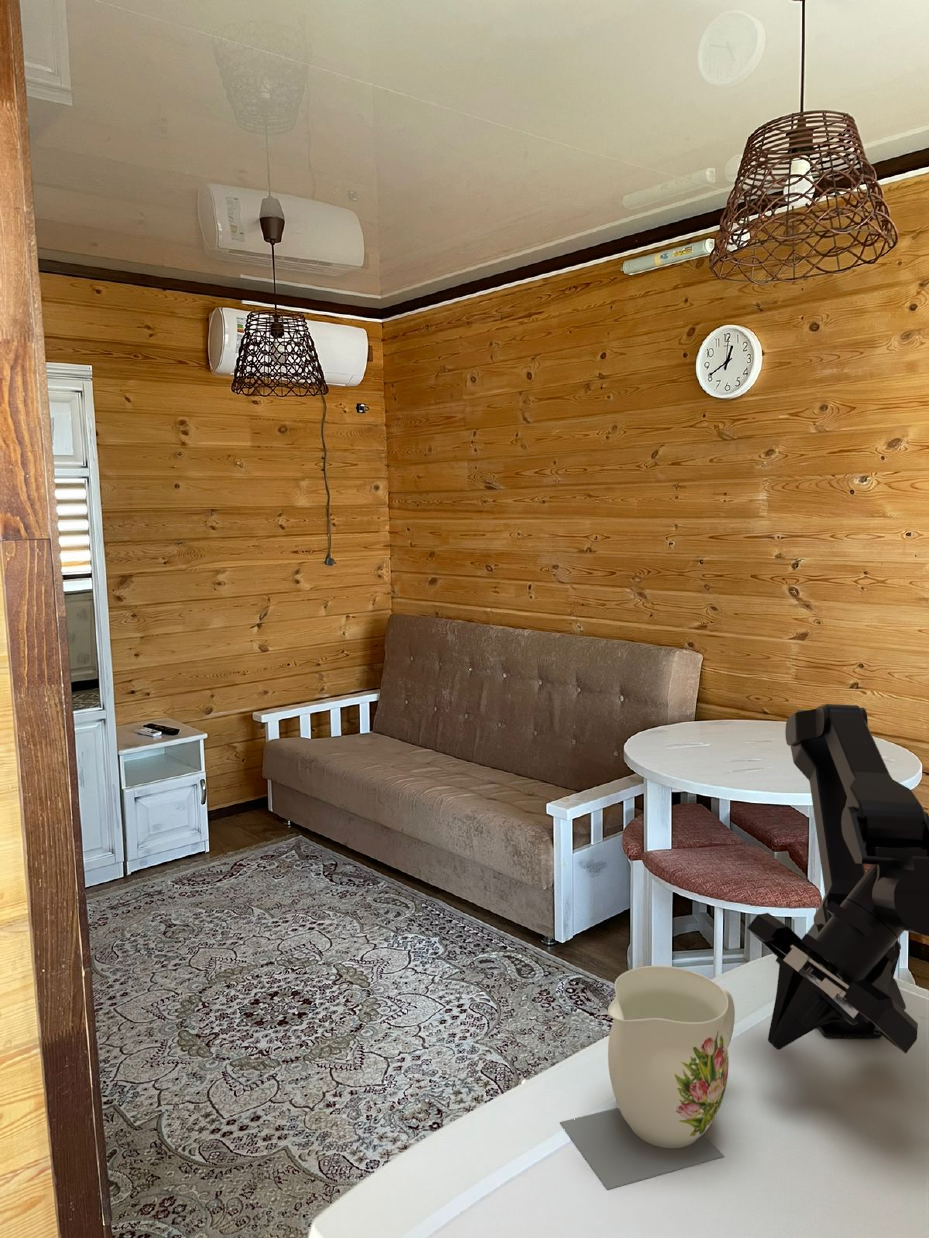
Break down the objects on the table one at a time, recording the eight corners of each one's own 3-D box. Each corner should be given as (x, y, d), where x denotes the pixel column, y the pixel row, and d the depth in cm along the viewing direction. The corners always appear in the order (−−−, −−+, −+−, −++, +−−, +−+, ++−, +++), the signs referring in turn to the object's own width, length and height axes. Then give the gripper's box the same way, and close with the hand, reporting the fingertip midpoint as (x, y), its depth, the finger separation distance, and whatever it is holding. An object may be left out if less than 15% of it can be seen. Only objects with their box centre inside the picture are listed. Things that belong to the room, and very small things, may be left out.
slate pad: (667, 1104, 91) (668, 1094, 91) (723, 1166, 83) (724, 1155, 83) (559, 1131, 87) (559, 1121, 87) (606, 1199, 78) (607, 1189, 78)
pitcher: (775, 1111, 89) (784, 977, 87) (655, 1198, 77) (663, 1046, 76) (682, 1056, 97) (689, 934, 95) (562, 1127, 86) (567, 990, 84)
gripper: (992, 1012, 84) (889, 1149, 82) (849, 922, 102) (762, 1034, 100) (928, 945, 81) (819, 1088, 79) (791, 865, 98) (700, 980, 97)
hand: (772, 1045), depth 89 cm, fingers closed
